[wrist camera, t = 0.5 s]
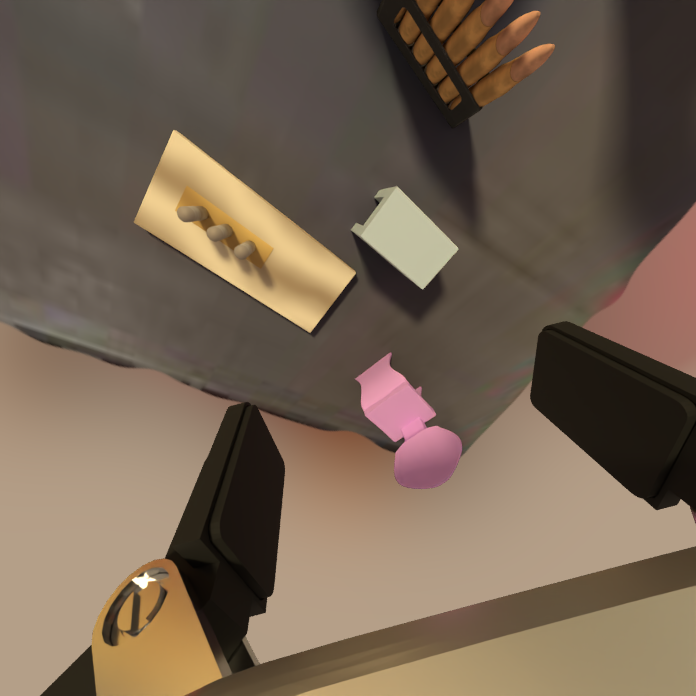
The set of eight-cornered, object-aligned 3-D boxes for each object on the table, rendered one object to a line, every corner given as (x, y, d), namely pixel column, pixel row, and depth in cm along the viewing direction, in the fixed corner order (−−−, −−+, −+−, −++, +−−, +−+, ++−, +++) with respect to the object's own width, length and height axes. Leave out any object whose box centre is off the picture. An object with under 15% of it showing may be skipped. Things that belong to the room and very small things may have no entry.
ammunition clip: (375, 14, 22) (434, -159, 12) (392, -10, 22) (469, -213, 11) (452, 129, 26) (546, 79, 16) (467, 111, 26) (575, 47, 15)
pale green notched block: (379, 189, 28) (397, 186, 22) (431, 240, 31) (458, 248, 25) (350, 230, 29) (360, 236, 24) (403, 274, 32) (422, 289, 27)
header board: (179, 132, 24) (148, 116, 19) (354, 270, 31) (361, 281, 27) (140, 221, 27) (105, 225, 22) (310, 328, 34) (310, 348, 30)
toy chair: (394, 345, 37) (440, 423, 24) (427, 383, 41) (483, 470, 27) (347, 380, 39) (366, 472, 25) (383, 414, 42) (415, 509, 29)
